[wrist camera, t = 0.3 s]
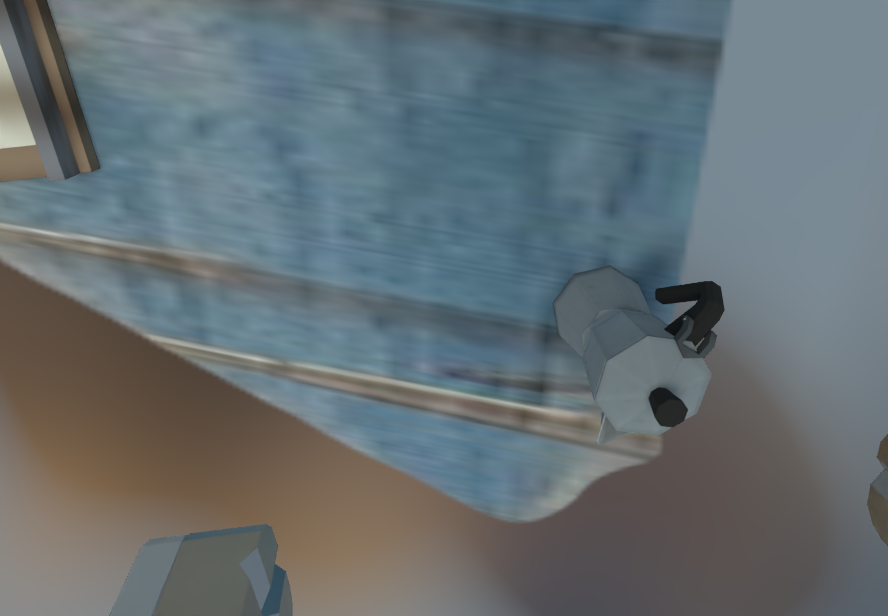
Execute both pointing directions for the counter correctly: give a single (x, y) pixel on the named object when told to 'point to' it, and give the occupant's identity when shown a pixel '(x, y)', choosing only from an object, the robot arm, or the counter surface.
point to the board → (38, 99)
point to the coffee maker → (639, 349)
